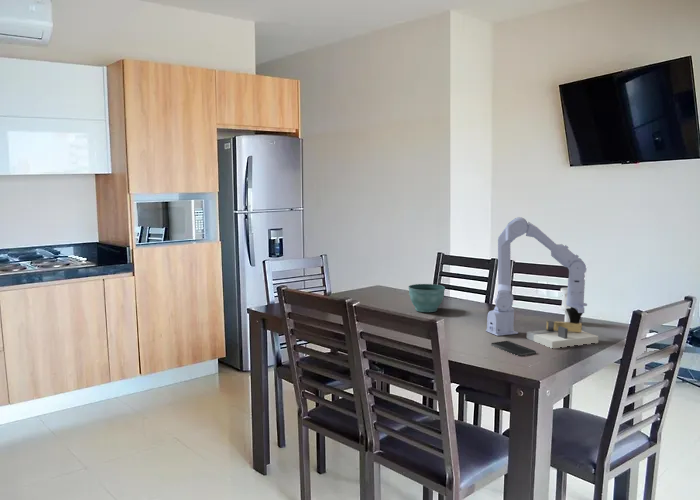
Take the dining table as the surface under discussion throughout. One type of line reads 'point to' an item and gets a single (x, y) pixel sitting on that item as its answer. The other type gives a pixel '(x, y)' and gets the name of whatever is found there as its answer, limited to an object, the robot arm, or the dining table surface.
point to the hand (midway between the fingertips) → (574, 328)
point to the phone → (513, 348)
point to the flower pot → (426, 296)
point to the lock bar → (569, 325)
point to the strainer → (564, 306)
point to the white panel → (561, 337)
